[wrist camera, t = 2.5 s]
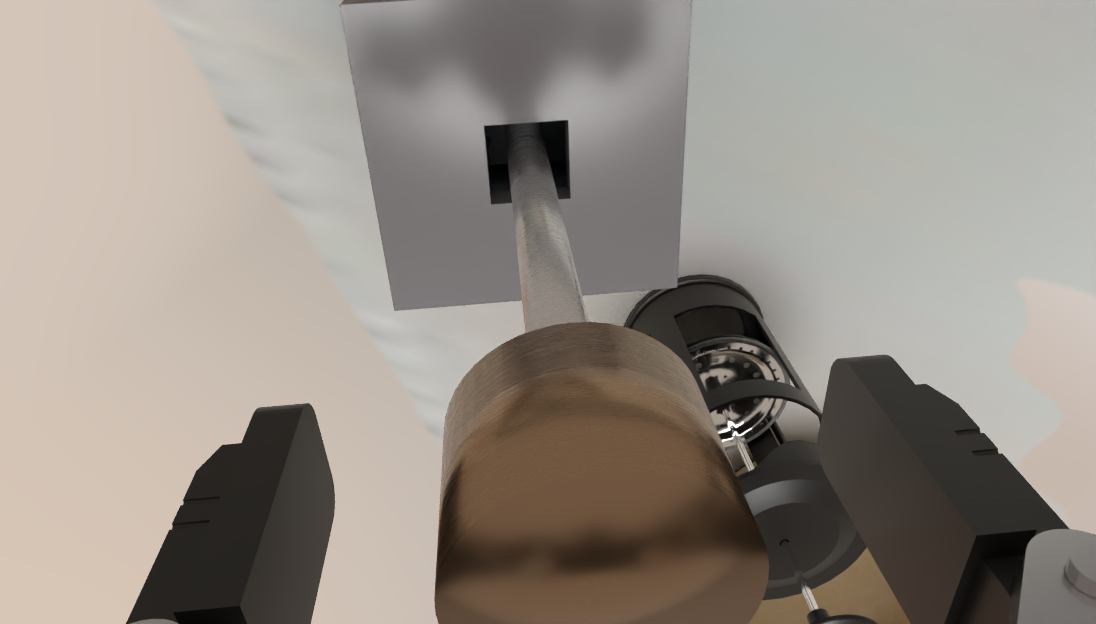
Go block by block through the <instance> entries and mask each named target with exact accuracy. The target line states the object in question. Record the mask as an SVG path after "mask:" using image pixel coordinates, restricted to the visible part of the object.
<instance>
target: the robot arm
mask: <svg viewBox="0 0 1096 624" xmlns="http://www.w3.org/2000/svg"><path fill="white" fill-rule="evenodd" d="M818 449H819V456H820V460H821V464H822V467H823V470H824V472H825V474H826V476H827V478H828V480H829V482H830V483H831V485H832V487H833V489H834V490H835V492H836V494H837V496H838V497H839V499H840V501H841V503H842V504H843V506H844V508H845V510H846V511H847V513H848V515H849V517H850V518H851V520H852V522H853V524H854V525H855V527H856V529H857V531H858V532H859V534H860V536H861V538H862V539H863V541H864V543H865V545H866V546H867V548H868V550H869V552H870V553H871V555H872V557H873V559H874V560H875V562H876V564H877V566H878V567H879V569H880V571H881V573H882V574H883V576H884V578H885V580H886V581H887V583H888V585H889V587H890V588H891V590H892V592H893V594H894V596H895V597H896V599H897V601H898V603H899V604H900V606H901V608H902V610H903V611H904V613H905V615H906V617H907V618H908V620H909V622H910V624H1096V535H1095V534H1091V533H1087V532H1084V531H1078V530H1072V529H1069V528H1068V527H1067V526H1066V524H1065V523H1064V522H1063V521H1062V520H1061V519H1060V518H1059V517H1058V515H1057V514H1056V513H1055V512H1054V511H1053V510H1052V509H1051V508H1050V506H1049V505H1048V504H1047V503H1046V502H1045V501H1044V500H1043V499H1042V497H1041V496H1040V495H1039V494H1038V493H1037V492H1036V491H1035V490H1034V489H1033V487H1032V486H1031V485H1030V484H1029V483H1028V482H1027V481H1026V480H1025V478H1024V477H1023V476H1022V475H1021V474H1020V473H1019V472H1018V471H1017V469H1016V468H1015V467H1014V466H1013V465H1012V464H1011V463H1010V462H1009V460H1008V459H1007V458H1006V457H1005V456H1004V455H1003V454H999V453H998V448H997V447H996V446H995V445H994V444H993V442H992V441H991V440H990V439H989V438H988V437H987V436H986V435H985V434H984V433H980V428H979V427H978V426H977V425H976V423H975V422H974V421H973V420H972V419H971V418H970V417H969V416H968V414H967V413H966V412H965V411H964V410H963V409H962V408H961V407H960V405H959V404H958V403H956V402H954V401H953V400H951V399H950V398H948V397H946V396H945V395H943V394H941V393H940V392H938V391H937V390H935V389H933V388H932V387H930V386H929V385H927V384H920V385H915V384H914V383H913V381H912V380H911V379H910V378H909V377H908V375H907V374H906V373H905V372H904V371H903V369H902V368H901V367H900V366H899V365H898V364H897V362H896V361H895V360H894V359H893V358H892V357H890V356H888V355H875V356H864V357H852V358H841V359H837V360H836V361H835V362H834V363H833V365H832V367H831V371H830V376H829V381H828V386H827V392H826V397H825V402H824V408H823V413H822V418H821V424H820V429H819V435H818ZM183 501H184V504H183V505H181V506H180V508H179V510H178V512H177V515H176V517H175V519H174V521H173V523H172V525H173V528H172V530H169V532H168V534H167V536H166V538H165V540H164V543H163V545H162V547H161V549H160V551H159V554H158V556H157V558H156V560H155V562H154V564H153V566H152V569H151V571H150V573H149V575H148V578H147V579H146V582H145V584H144V587H143V588H142V590H141V592H140V595H139V597H138V599H137V601H136V603H135V606H134V608H133V610H132V612H131V614H130V616H129V618H128V621H127V622H126V624H311V619H312V614H313V610H314V605H315V601H316V597H317V592H318V587H319V583H320V578H321V574H322V568H323V564H324V560H325V555H326V551H327V546H328V541H329V537H330V532H331V527H332V523H333V517H334V509H335V494H334V484H333V479H332V474H331V470H330V467H329V463H328V459H327V455H326V452H325V448H324V444H323V440H322V437H321V433H320V429H319V426H318V422H317V419H316V415H315V412H314V409H313V407H312V406H311V405H310V404H309V403H306V404H295V405H284V406H272V407H261V408H258V409H256V411H255V412H254V414H253V416H252V419H251V421H250V423H249V426H248V428H247V431H246V433H245V436H244V438H243V441H242V443H239V444H229V445H222V446H221V447H220V448H219V449H218V450H217V451H216V452H215V453H214V454H213V455H212V456H211V457H210V458H209V459H208V460H207V461H206V462H205V463H204V464H203V465H202V466H201V467H200V468H199V469H198V470H197V471H196V473H195V475H194V477H193V480H192V482H191V484H190V486H189V488H188V490H187V493H186V495H185V497H184V499H183Z"/></svg>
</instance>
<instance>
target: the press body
mask: <svg viewBox="0 0 1096 624" xmlns="http://www.w3.org/2000/svg"><path fill="white" fill-rule="evenodd" d="M339 6H340V12H341V17H342V23H343V28H344V34H345V39H346V45H347V50H348V56H349V61H350V67H351V73H352V78H353V84H354V89H355V95H356V100H357V106H358V111H359V117H360V122H361V128H362V134H363V139H364V145H365V150H366V156H367V161H368V167H369V172H370V178H371V184H372V189H373V195H374V200H375V206H376V211H377V217H378V222H379V228H380V233H381V239H382V245H383V250H384V256H385V261H386V267H387V272H388V278H389V283H390V289H391V294H392V300H393V306H394V311H398V310H410V309H422V308H435V307H447V306H459V305H471V304H484V303H496V302H508V301H520V300H522V293H521V284H520V274H519V265H518V255H517V245H516V236H515V226H514V217H513V207H512V198H511V188H510V178H509V169H508V164H496V165H488V159H487V148H486V138H485V127H484V126H488V125H503V124H517V123H531V122H545V121H559V120H565V136H566V159H564V160H550V161H549V162H550V166H551V171H552V175H553V179H554V183H555V187H556V191H557V195H558V199H559V203H560V207H561V212H562V216H563V220H564V224H565V228H566V232H567V236H568V240H569V244H570V248H571V253H572V257H573V261H574V265H575V269H576V273H577V277H578V281H579V285H580V289H581V294H582V295H594V294H606V293H619V292H631V291H643V290H655V289H668V288H677V281H678V262H679V243H680V223H681V204H682V184H683V165H684V145H685V126H686V106H687V87H688V67H689V48H690V28H691V9H692V0H344V1H343V2H342V3H341V4H340V5H339Z"/></svg>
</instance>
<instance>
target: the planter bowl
mask: <svg viewBox="0 0 1096 624" xmlns="http://www.w3.org/2000/svg"><path fill="white" fill-rule="evenodd" d="M752 464H753V466H754V468H755V467H756V466H757V464H756V462H755V461H754V462H752ZM746 472H748V470H747V467H746V466H745V467H743V468H742V469H740V470H739V471H738V472H736V473H735V474H736V476H739V475H741V474H743V473H746ZM811 592H812V595H813V597H814V599H815V601H816V603H817V605H818V608H819V609H820V608H821V609H825V610H827V611H828V613H829V615H830V616H835V615H844V614H852V615H860V616H865V617H868V618H870V619H873V620H874V621H876V622H877V623H879V624H910V622H909V620H908V618H907V617H906V615H905V613H904V611H903V610H902V608H901V606H900V604H899V603H898V601H897V599H896V597H895V596H894V594H893V592H892V590H891V588H890V587H889V585H888V583H887V581H886V580H885V578H884V576H883V574H882V573H881V571H880V569H879V567H878V566H877V564H876V562H875V560H874V559H873V557H872V555H871V553H870V552H869V550H868V548H866V549H865V550H864V552H863V553H862V554H861V556H860V557H859V558H858V559H857V560H856V561H855V562H854V563H853V564H852V565H851V566H850V567H848V568H847V569H846V570H845V571H844V572H842V573H841V574H839V575H838V576H836V577H835V578H833V579H832V580H830V581H828V582H826V583H824V584H822V585H820V586H818V587H816V588H814V589H812V590H811ZM810 612H811V611H810V608H809V606H808V604H807V602H806V599H805V597H804V595H803V593H801V594H798V595H793V596H789V597H785V598H781V599H771V600H762V602H761V604H760V606H759V608H758V610H757V611H756V613H755V615H754V616H753V618H752V619H751V621H750V622H749V623H748V624H809V623H808V620H807V615H808V614H809V613H810Z"/></svg>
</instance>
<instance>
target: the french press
mask: <svg viewBox="0 0 1096 624" xmlns="http://www.w3.org/2000/svg"><path fill="white" fill-rule="evenodd" d="M714 307H719V308H730V309H733V310H736V311H737V312H738V313H739V314H740V316H741V318H742V320H743V323H744V330H745V334H744V336H739V335H717V336H711V337H706V338H702V339H699V340H696V341H693V342H691V343H689V344H687V345H686V343H685V341H684V338H683V336H682V334H681V331H680V329H679V327H678V324H677V322H676V320H675V318H676V317H678V316H680V315H683V314H685V313H687V312H690V311H694V310H698V309H702V308H714ZM624 327H626V328H629V329H632V330H635V331H638V332H641V333H643V334H645V335H647V336H649V337H652V338H654V339H656V340H657V341H659V342H660V343H662V344H663V345H665V346H666V347H668V348H669V349H670V350H672V351H673V352H674V353H675V354H676V355H677V356H678V357H679V358H680V359H681V360H682V361H683V362H684V364H685V365H686V366H687V367H688V368H689V370H690V371H691V373H692V375H693V377H694V378H695V380H696V382H697V384H698V387H699V389H700V391H701V394H702V396H703V398H704V401H705V403H706V406H707V408H708V410H709V413H710V415H711V417H712V420H713V422H714V424H715V427H716V429H717V432H718V434H719V436H720V439H721V441H722V443H723V446H724V448H725V450H728V449H732V448H736V447H738V449H739V452H740V454H741V456H742V458H743V461H744V463H745V465H746V467H747V470H748V472H746V473H743V474H741V475H739V476H737V479H738V481H739V483H740V486H741V488H742V490H743V493H744V495H745V498H746V500H747V502H748V505H749V507H750V509H751V512H752V514H753V516H754V519H755V521H756V524H757V526H758V528H759V531H760V533H761V535H762V538H763V541H764V543H765V546H766V549H767V553H768V561H769V576H768V583H767V587H766V591H765V595H764V597H763V599H762V600H771V599H781V598H785V597H789V596H793V595H798V594H801V593H803V595H804V597H805V599H806V602H807V604H808V606H809V608H810V611H811V612H810V613H809V614H808V615H807V620H808V623H809V624H879V623H877V622H876V621H874V620H873V619H870V618H868V617H865V616H860V615H852V614H844V615H835V616H830V615H829V613H828V611H827V610H825V609H821V608H820V609H819V608H818V605H817V603H816V601H815V599H814V597H813V595H812V592H811V590H812V589H814V588H816V587H818V586H820V585H822V584H824V583H826V582H828V581H830V580H832V579H833V578H835V577H836V576H838V575H839V574H841V573H842V572H844V571H845V570H846V569H847V568H848V567H850V566H851V565H852V564H853V563H854V562H855V561H856V560H857V559H858V558H859V557H860V556H861V554H862V553H863V552H864V550H865V549H866V548H867V546H866V545H865V543H864V541H863V539H862V538H861V536H860V534H859V532H858V531H857V529H856V527H855V525H854V524H853V522H852V520H851V518H850V517H849V515H848V513H847V511H846V510H845V508H844V506H843V504H842V503H841V501H840V499H839V497H838V496H837V494H836V492H835V490H834V489H833V487H832V485H831V483H830V482H829V480H828V478H827V476H826V474H825V472H824V470H823V467H822V464H821V460H820V456H819V449H818V445H816V444H813V443H808V442H804V441H790V442H787V441H786V439H785V437H784V436H783V434H782V432H781V430H780V428H779V426H778V424H777V423H776V420H777V418H778V417H779V415H780V414H781V412H782V411H783V409H784V407H785V405H786V402H787V401H791V402H795V403H798V404H800V405H802V406H804V407H806V408H808V409H810V410H811V411H812V412H813V413H814V414H816V415H817V416H818V418H819V421H820V424H821V418H822V413H821V411H820V410H819V408H818V406H817V405H816V403H815V402H814V400H813V399H812V397H811V395H810V394H809V392H808V391H807V389H806V387H805V386H804V384H803V383H802V381H801V379H800V378H799V376H798V375H797V373H796V371H795V370H794V368H793V367H792V365H791V363H790V362H789V360H788V359H787V357H786V355H785V354H784V352H783V351H782V349H781V348H780V346H779V344H778V343H777V341H776V340H775V338H774V336H773V335H772V333H771V332H770V330H769V328H768V327H767V325H766V324H765V322H764V320H763V316H762V313H761V310H760V308H759V306H758V304H757V303H756V301H755V300H754V298H753V297H752V296H751V294H750V293H748V292H747V291H746V290H745V289H744V288H743V287H741V286H739V285H738V284H736V283H734V282H732V281H730V280H727V279H724V278H720V277H717V276H706V275H699V276H688V277H684V278H680V279H678V281H677V288H668V289H655V290H654V291H652V292H651V293H649V294H648V295H647V296H646V297H645V298H643V299H642V300H641V301H640V302H639V303H638V304H637V306H636V307H635V308H634V310H633V311H632V312H631V314H630V315H629V317H628V319H627V322H626V324H625V326H624ZM789 377H790V378H789ZM790 379H791V381H792V382H793V384H794V386H795V387H796V388H795V387H793V386H791V385H790ZM745 443H747V444H748V447H749V449H750V451H751V453H752V455H753V457H754V459H755V462H756V464H757V466H756V467H755V468H754V466H753V464H752V462H751V460H750V457H749V455H748V453H747V451H746V449H745V447H744V444H745Z"/></svg>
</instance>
